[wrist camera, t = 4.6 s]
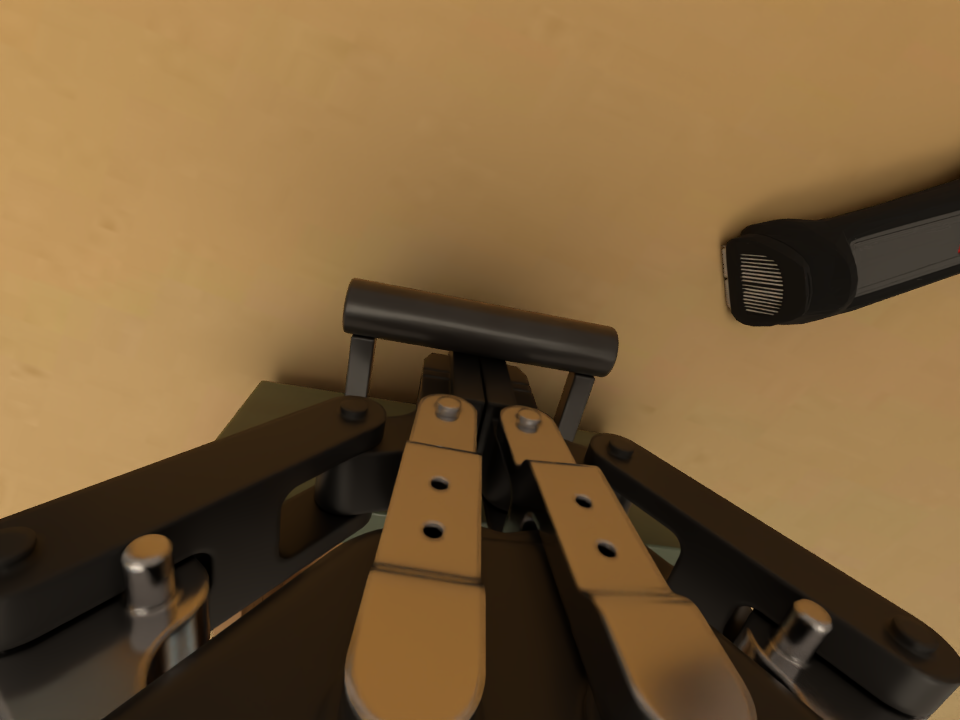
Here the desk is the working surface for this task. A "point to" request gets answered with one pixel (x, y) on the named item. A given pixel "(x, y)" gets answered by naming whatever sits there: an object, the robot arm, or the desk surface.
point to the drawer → (462, 331)
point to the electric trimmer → (842, 258)
